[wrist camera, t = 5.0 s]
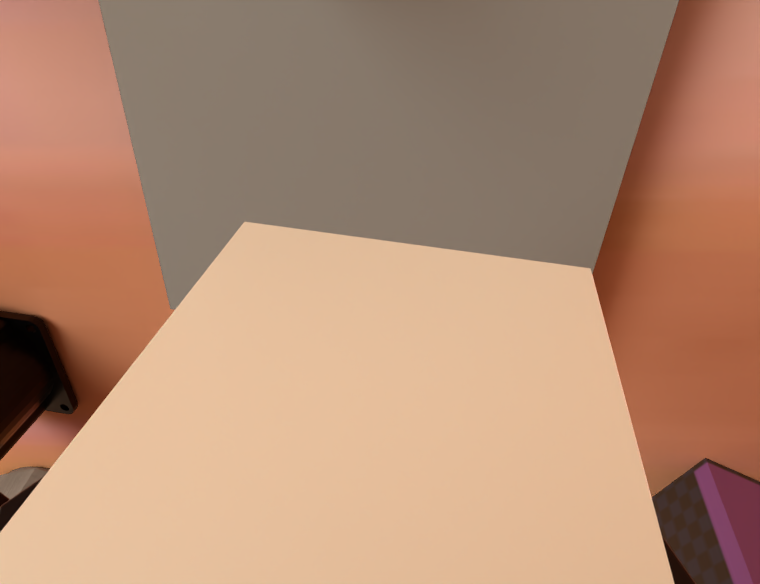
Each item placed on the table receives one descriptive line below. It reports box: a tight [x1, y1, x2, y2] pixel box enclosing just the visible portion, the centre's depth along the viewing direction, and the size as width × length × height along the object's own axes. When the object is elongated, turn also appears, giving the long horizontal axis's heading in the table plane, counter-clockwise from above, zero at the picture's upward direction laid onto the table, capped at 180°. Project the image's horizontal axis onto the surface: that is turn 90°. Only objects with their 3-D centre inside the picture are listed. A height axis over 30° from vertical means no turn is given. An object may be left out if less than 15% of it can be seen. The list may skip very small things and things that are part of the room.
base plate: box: [99, 0, 679, 309], centre depth 16 cm, size 22×16×2 cm
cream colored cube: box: [0, 222, 674, 584], centre depth 7 cm, size 5×5×6 cm
